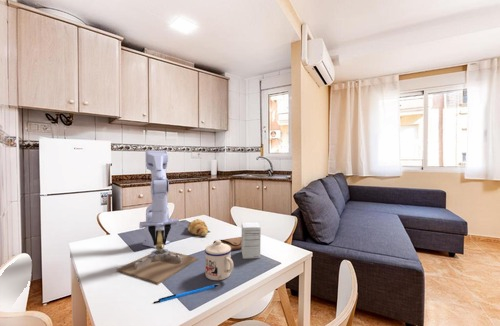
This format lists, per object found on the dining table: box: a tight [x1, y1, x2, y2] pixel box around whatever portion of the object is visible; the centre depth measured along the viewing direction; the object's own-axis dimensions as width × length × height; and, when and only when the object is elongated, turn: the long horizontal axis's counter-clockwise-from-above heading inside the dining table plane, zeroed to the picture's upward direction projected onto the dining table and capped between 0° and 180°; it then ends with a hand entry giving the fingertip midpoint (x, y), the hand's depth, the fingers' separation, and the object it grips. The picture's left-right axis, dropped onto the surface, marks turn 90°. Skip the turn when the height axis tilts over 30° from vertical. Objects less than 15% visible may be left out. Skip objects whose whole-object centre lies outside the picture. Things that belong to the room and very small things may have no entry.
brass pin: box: [155, 230, 165, 250], centre depth 91 cm, size 3×3×7 cm
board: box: [116, 250, 199, 285], centre depth 86 cm, size 20×20×1 cm
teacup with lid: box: [204, 239, 235, 281], centre depth 78 cm, size 12×9×12 cm
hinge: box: [135, 248, 182, 269], centre depth 86 cm, size 14×14×2 cm
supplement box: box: [241, 221, 262, 259], centre depth 95 cm, size 7×7×13 cm
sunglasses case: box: [212, 236, 242, 252], centre depth 104 cm, size 18×7×7 cm, turn 117°
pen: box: [153, 284, 220, 304], centre depth 68 cm, size 1×19×1 cm, turn 118°
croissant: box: [187, 218, 209, 237], centre depth 125 cm, size 21×10×8 cm, turn 37°
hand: (159, 244), depth 91 cm, fingers closed on brass pin, 3 cm apart
